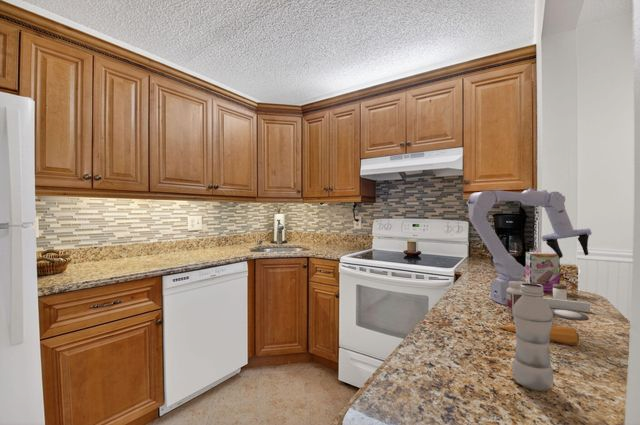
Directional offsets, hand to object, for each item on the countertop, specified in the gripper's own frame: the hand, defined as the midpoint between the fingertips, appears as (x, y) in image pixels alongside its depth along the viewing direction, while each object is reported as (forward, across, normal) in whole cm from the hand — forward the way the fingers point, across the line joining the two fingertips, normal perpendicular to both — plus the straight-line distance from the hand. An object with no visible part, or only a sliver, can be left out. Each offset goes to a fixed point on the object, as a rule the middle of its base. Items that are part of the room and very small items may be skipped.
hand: (573, 255), depth 109 cm
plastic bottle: (0, -5, +76) cm, 77 cm away
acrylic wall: (+14, +4, +16) cm, 21 cm away
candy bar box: (+17, +17, -7) cm, 25 cm away
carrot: (+6, +3, +49) cm, 49 cm away
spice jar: (+14, +7, +10) cm, 19 cm away
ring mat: (+12, +2, +22) cm, 25 cm away
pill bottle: (+7, +12, +34) cm, 37 cm away
